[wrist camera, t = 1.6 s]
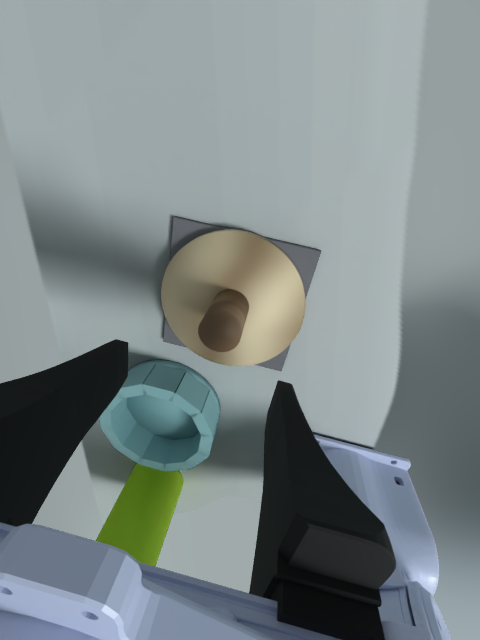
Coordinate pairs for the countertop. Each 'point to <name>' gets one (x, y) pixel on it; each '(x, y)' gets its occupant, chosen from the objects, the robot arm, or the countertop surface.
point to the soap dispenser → (143, 513)
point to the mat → (298, 254)
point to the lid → (233, 297)
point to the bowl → (163, 416)
